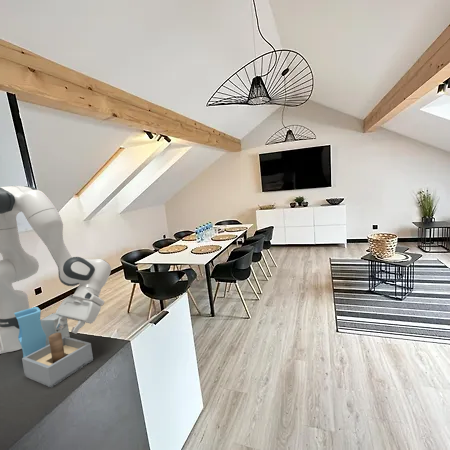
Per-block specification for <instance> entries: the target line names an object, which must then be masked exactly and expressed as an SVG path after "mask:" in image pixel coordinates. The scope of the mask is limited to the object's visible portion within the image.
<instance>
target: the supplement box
mask: <svg viewBox="0 0 450 450" xmlns="http://www.w3.org/2000/svg"><path fill="white" fill-rule="evenodd" d="M59 317H60V316H58V315H56V312H53V313H51V314H49V315H47V316H46V317H45V316H44V317H43V318H40V321H41V326H42V329H43V331H44V333H45V335H46V346H47V345H49V344H50V343H49V336H50V335H51V334H54V333H61V335H62V338H63V337H65V336H66V337H69V338H71V337H70V330H69V325H68V324H69V323H68V318H67V319H66V320H65V321H64V323H63V325H64V326H63V328H62V329H61V330H60V329H57V328H56V326H57V325H58V320H59Z"/></svg>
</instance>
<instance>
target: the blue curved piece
mask: <svg viewBox="0 0 450 450" xmlns="http://www.w3.org/2000/svg"><path fill="white" fill-rule="evenodd" d="M29 308H30V307H29ZM41 312H42V311H41V309H40V308H39V307H38V306H34V307H31V308H30V309H26V310H23V311H19V312H16V313H14V314H15V316H16V318H17V320H18V323H19V336H18V339H19V342H20V344H21V347H22V349H21V351H22V358H24V357H26V356H28V355H30V354H32V353H34V352H36V351H38V350H39V349H41V348H43V347H45V346H46V335H45V333H44V331H43V329H42V326H41V321H40V320H41V315H42V313H41Z"/></svg>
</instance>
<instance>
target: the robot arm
mask: <svg viewBox="0 0 450 450" xmlns="http://www.w3.org/2000/svg"><path fill="white" fill-rule="evenodd" d="M21 212H22V214H23V215H24V217H25V219H26V220H27V222H28V224H29V226H31V228H32V230H33V231H34V233H35V234H36V235H37V236H38V237H39V238H40V239H41V241H42V243H44V245H45V247H46V248H47V250H48V251H49V253H50V255H51V257H52V259H53V260H54V262H55V264H56V266H57V269H58V279H59V280H60V282H61V283H62V285H64V286H67V287H75V286H77V285H78V286H77V288H76V289H75V291H74V293H73V294H70V295H69V296H67V297H66V298H64V300H62V302H61V303H60V304H59V306H58V307H57V309H56V311H55V313H56V315H58V316H60V317H59V320H58V325H57V326H56V328H57V329H60V330H61V329H62V328H63V326H64V325H63V323H64V321H65V320H66V319H67V320H68V319H69V320H72V321H73V320H74V321H77V324H76V325H75V326H74V327H72V329H71V331H70V332H71V333H72V334H78V332H79V330H81V329H82V328H83V326H84V325H85V324H90V325H91V324H93V323H94V322H95V321H96V319H97V317H98V316H99V314H100V312H101V308H102V306H103V305H104V304H105V300H103V299H102V298H101V297H100V294H101V291H102V289H103V287H104V286H105V285H106V284H107V282H108V279H109V278H110V276H111V275H110V274H111V271H112V267H111V265H110V263H109V262H107V260H105V259H103V258H84V257H81V256H71V253H70V251H69V250H68V248H67V246H66V244H65V241H64V234H63V233H64V224H63V219H62V218H61V215H60V213H59V211H58V209H57V208H56V206H55V205H54V203H53V202H52V201H51V199H50V198H49V197H48V196H47V195H46V194H45V193H44V192H43V191H41V190H39V189H37V188H35V187H32V186H30V185H29V186H28V185H25V186H23V185H9V186H0V255H1V256H2V259H0V354H1V355H2V354H5V353H11V352H14V351H19V350H22V347H21V344H20V342H19V339H18V336H19V323H18V320H17V318H16V316H15V314H14V313H16V312H19V311H23V310H26V309H30V303H29V302H30V301H29V297H28V294H27V293H26V292H25V291H22V290H18V289H15V288H14V287H13V283H17V282H21V281H23V280H26V279H29V278H30V277H32V276H33V275H36V274H37V273H38V271H39V268H40V265H39V261H38V259H37V258H36V257H34V256H33V255H31V254H29V253H28V252H26V251H25V249H24V247H23V246H22V244H21V242H20V236H19V229H18V223H17V216H18V214H19V213H21Z"/></svg>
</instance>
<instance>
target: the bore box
mask: <svg viewBox="0 0 450 450" xmlns="http://www.w3.org/2000/svg"><path fill="white" fill-rule="evenodd" d="M62 342H63V348H64V354H65V357H64V358H62V359H60V360H58V361H57V362H55V363H53V361H52V355H51V349H50V344H49V345H47V346H45V347H43V348H41V349H39V350H38V351H36V352H34V353H32V354H30V355H28V356H26V357H24V358H23V357H22V358H21V360H22V367H23V371H24V377H25V378H27V379H30V380H32V381H34V382H37V383H39V384H42V385H44V386H46V387H48V388H50V389H52V388H53V387H55V386H56V385H58V384H60V382H63V381H64V380H66V378H68V377H70V376H72V375H73V374H74V373H76V372H78V371H79V370H81V369H83V368H84V367H86V366H87V365H88V364H90V363H92V362H93V361H94V356H93V349H92V343H91V342H88V341H83V340H80V339H76V338H73V337H70V338H69V337H66V336H65V337H63V338H62Z"/></svg>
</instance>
